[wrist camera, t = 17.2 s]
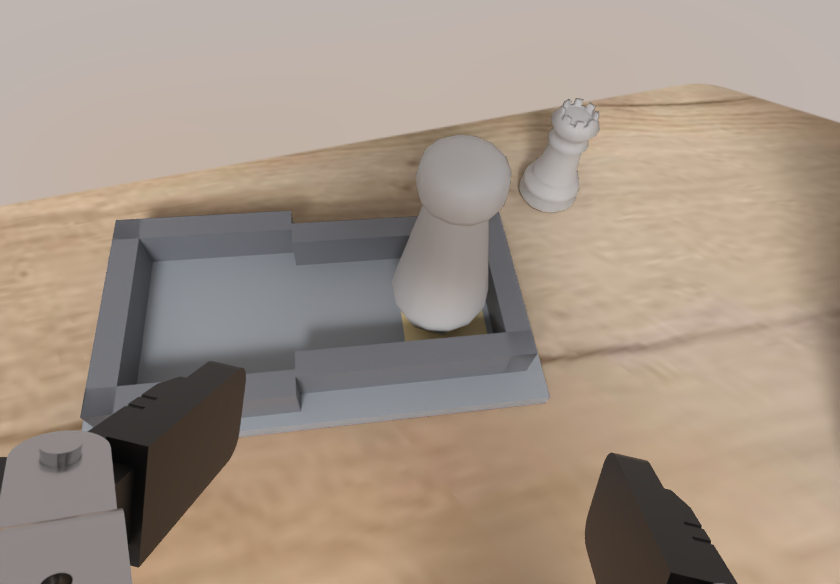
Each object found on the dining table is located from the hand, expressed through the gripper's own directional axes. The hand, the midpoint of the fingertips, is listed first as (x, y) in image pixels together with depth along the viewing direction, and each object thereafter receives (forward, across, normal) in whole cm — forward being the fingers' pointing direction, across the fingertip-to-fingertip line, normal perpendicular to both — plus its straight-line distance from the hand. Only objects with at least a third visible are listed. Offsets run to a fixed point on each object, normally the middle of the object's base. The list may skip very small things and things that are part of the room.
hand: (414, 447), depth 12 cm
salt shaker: (+23, +1, +3) cm, 23 cm away
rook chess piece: (+33, -6, -5) cm, 34 cm away
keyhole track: (+22, +7, +5) cm, 24 cm away
